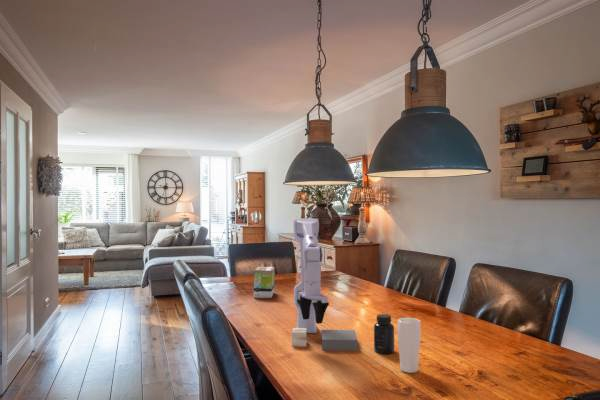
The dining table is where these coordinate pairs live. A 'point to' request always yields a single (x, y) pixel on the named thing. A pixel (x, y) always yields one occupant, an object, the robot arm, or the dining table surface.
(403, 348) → the drinking glass
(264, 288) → the tea box
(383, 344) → the supplement bottle
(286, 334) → the dining table surface
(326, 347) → the charcoal box
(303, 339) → the birch block
